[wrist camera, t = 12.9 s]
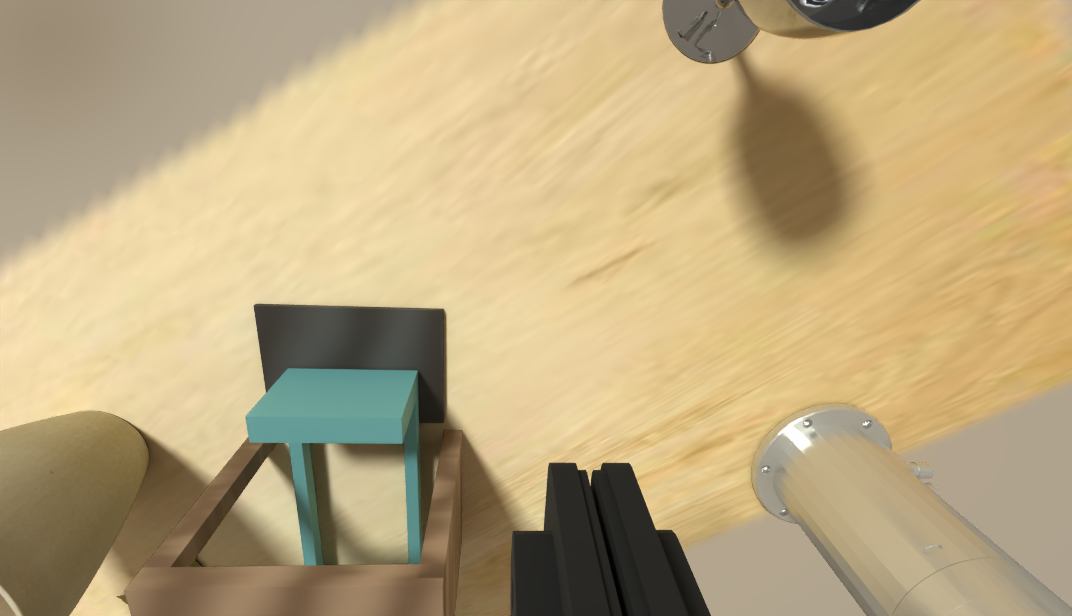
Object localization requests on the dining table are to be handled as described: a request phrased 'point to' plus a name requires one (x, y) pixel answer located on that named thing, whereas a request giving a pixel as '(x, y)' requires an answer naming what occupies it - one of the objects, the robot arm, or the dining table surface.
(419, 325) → the tunnel
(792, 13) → the wine glass
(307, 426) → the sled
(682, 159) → the dining table surface
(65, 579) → the plant pot
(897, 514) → the robot arm
